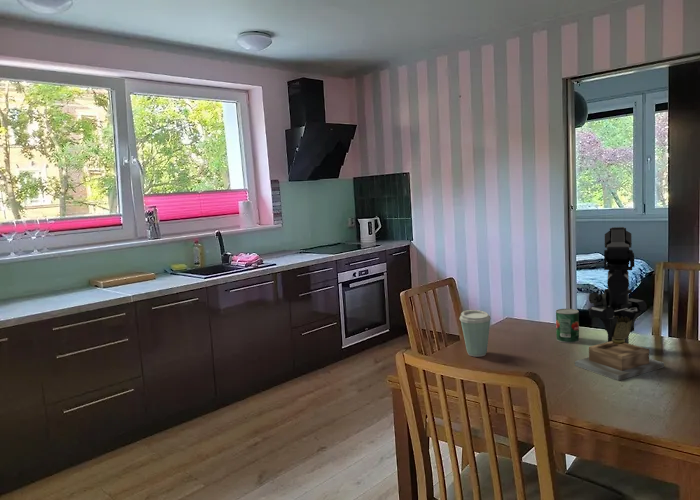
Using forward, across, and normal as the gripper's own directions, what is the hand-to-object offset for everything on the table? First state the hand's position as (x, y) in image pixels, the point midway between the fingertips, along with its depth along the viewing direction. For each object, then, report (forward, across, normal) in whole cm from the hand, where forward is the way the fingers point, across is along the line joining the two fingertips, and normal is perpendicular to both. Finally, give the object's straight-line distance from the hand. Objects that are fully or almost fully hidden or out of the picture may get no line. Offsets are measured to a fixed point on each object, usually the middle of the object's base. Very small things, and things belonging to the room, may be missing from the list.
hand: (618, 335), depth 167 cm
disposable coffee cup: (+10, +28, -35) cm, 46 cm away
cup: (+3, 0, 0) cm, 3 cm away
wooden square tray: (+10, 0, 0) cm, 10 cm away
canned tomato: (+10, -9, -29) cm, 32 cm away
